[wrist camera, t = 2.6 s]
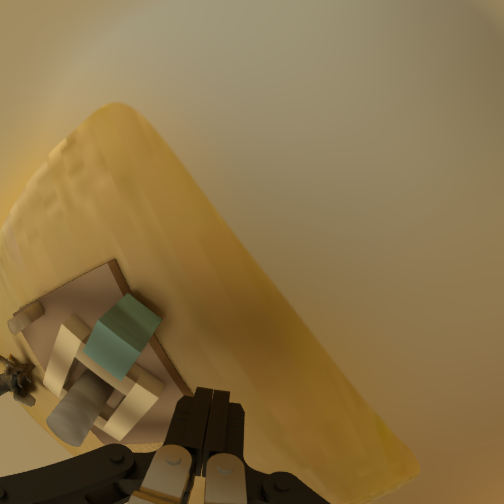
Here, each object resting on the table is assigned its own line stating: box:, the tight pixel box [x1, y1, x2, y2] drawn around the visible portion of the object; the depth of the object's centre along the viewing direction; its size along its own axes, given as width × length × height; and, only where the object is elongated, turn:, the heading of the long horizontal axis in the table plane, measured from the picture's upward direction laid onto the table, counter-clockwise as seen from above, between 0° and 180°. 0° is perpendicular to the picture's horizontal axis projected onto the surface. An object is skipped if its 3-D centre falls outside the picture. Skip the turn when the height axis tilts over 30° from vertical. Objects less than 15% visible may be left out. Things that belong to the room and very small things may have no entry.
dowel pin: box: [8, 302, 45, 335], centre depth 16 cm, size 1×1×4 cm
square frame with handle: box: [43, 293, 165, 441], centre depth 17 cm, size 14×9×4 cm, turn 142°
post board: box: [13, 259, 193, 447], centre depth 16 cm, size 17×14×8 cm
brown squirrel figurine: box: [0, 353, 36, 407], centre depth 18 cm, size 8×7×9 cm
